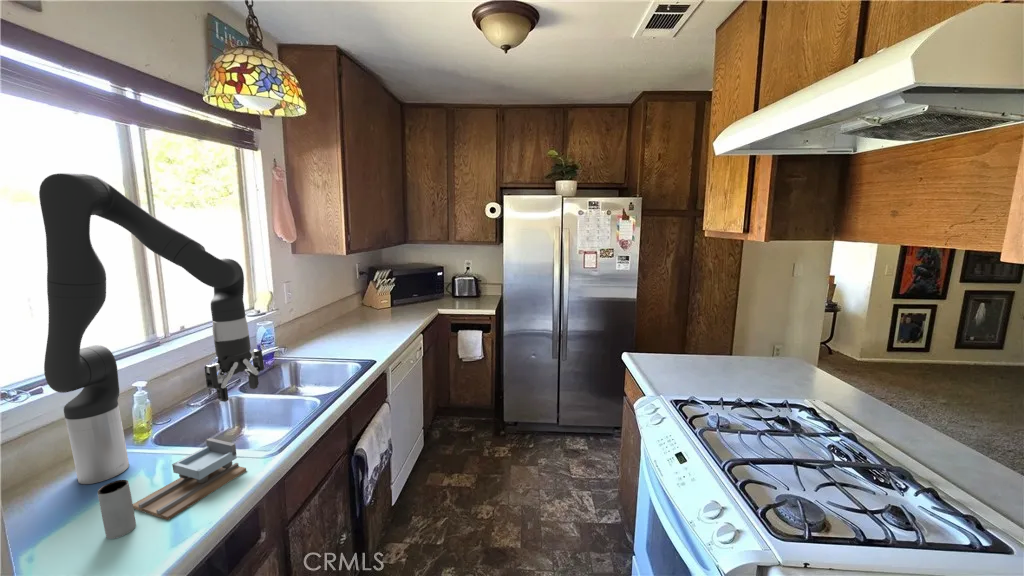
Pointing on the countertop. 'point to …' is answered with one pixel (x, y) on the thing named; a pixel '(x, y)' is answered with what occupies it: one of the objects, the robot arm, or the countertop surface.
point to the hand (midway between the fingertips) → (239, 394)
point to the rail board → (185, 493)
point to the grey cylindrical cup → (116, 508)
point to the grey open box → (206, 460)
